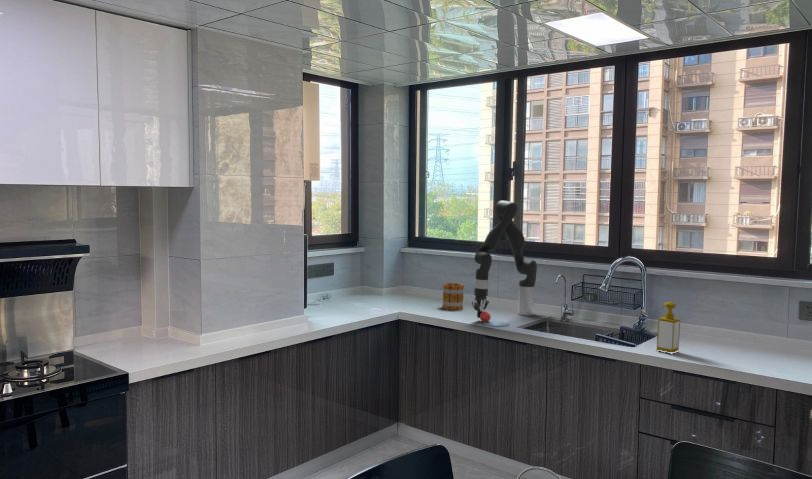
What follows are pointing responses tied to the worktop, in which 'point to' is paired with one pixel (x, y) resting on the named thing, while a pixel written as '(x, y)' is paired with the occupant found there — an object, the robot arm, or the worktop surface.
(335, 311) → the worktop surface
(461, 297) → the brown wooden cylinder
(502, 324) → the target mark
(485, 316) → the ball
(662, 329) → the soap bottle
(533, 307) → the robot arm
